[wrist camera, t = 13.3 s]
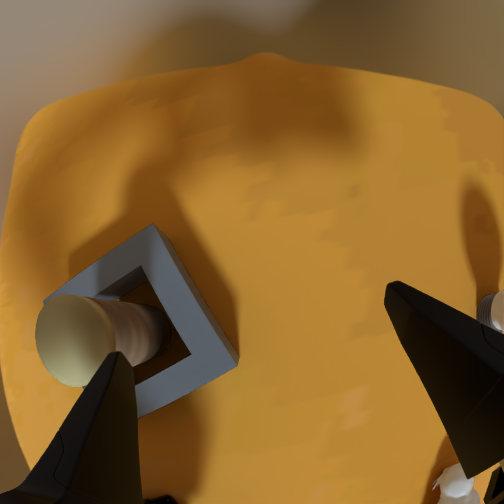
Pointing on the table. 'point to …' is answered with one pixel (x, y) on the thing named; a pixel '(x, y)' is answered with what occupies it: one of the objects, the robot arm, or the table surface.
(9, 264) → the table surface
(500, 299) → the light bulb
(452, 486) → the light grey piece
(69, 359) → the walnut pin
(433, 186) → the table surface
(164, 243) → the socket block
